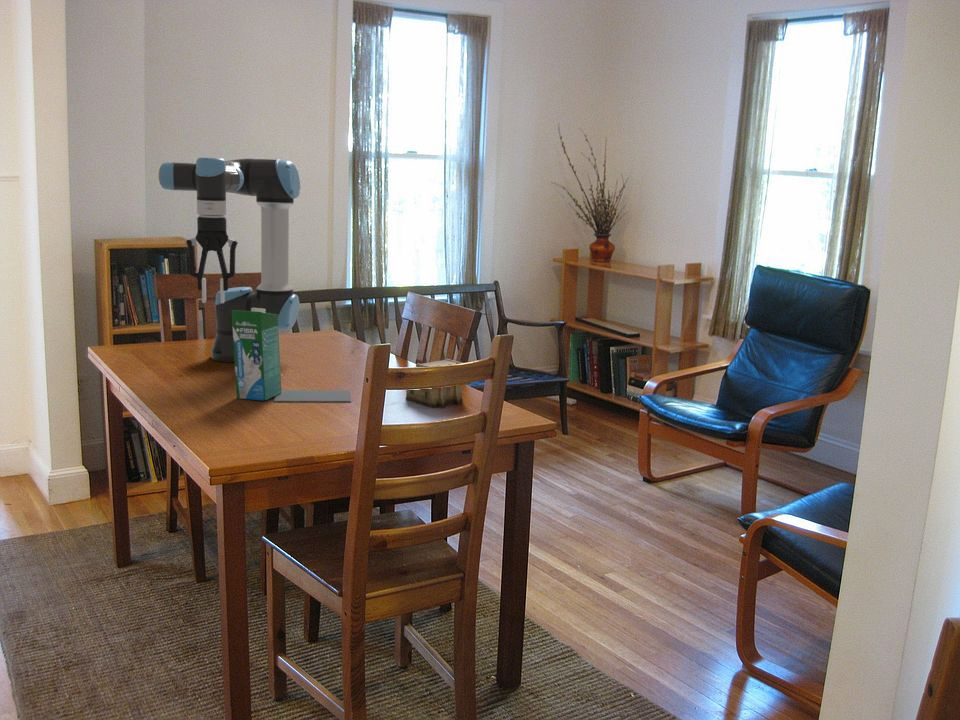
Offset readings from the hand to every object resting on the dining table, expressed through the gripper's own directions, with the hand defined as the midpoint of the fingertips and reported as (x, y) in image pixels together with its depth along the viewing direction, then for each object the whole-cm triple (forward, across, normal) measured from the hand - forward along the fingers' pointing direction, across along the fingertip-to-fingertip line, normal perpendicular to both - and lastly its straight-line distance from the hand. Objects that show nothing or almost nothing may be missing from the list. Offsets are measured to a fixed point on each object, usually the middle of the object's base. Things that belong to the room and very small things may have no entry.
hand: (213, 302), depth 260 cm
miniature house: (+27, +62, -3) cm, 68 cm away
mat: (+27, +27, 0) cm, 38 cm away
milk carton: (+27, +12, 0) cm, 29 cm away
